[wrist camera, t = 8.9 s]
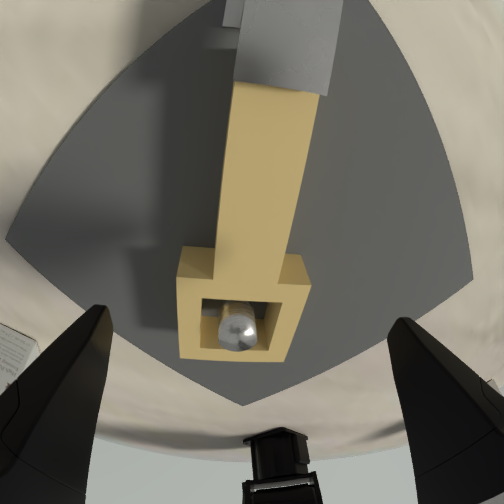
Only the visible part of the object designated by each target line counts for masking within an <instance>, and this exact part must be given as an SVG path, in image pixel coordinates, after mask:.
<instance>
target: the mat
mask: <svg viewBox="0 0 504 504" xmlns="http://www.w3.org/2000/svg"><path fill="white" fill-rule="evenodd" d="M226 1H227V0H212V1H210V2H209V3H207V4H206V5H204V6H203V7H201V8H200V9H199V10H197V11H196V12H194V13H193V14H192V15H190V16H189V17H187V18H186V19H185V20H183V21H182V22H181V23H179V24H178V25H177V26H176V27H174V28H173V29H172V30H171V31H169V32H168V33H167V34H166V35H164V36H163V37H162V38H161V39H160V40H158V41H157V42H156V43H155V44H154V45H153V46H151V47H150V48H149V49H148V50H147V51H146V52H145V53H143V54H142V55H141V56H140V57H139V58H138V59H137V60H136V61H135V62H134V63H133V64H132V65H131V66H130V67H129V68H127V69H126V70H125V71H124V72H123V73H122V74H121V75H120V76H119V77H118V78H117V79H116V81H115V82H114V83H113V84H112V85H111V86H110V87H109V88H108V89H107V90H106V91H105V92H104V93H103V94H102V95H101V97H100V98H99V99H98V100H97V101H96V102H95V103H94V104H93V106H92V107H91V108H90V109H89V110H88V111H87V113H86V114H85V115H84V116H83V117H82V119H81V120H80V121H79V122H78V124H77V125H76V126H75V127H74V129H73V130H72V131H71V133H70V134H69V135H68V136H67V138H66V139H65V140H64V142H63V143H62V145H61V146H60V147H59V149H58V150H57V152H56V153H55V154H54V156H53V157H52V159H51V160H50V162H49V163H48V165H47V166H46V168H45V169H44V171H43V172H42V174H41V175H40V177H39V178H38V180H37V182H36V183H35V185H34V186H33V188H32V190H31V191H30V193H29V195H28V197H27V198H26V200H25V202H24V204H23V205H22V207H21V209H20V211H19V213H18V215H17V216H16V218H15V220H14V222H13V224H12V226H11V228H10V230H9V232H8V234H7V236H6V238H5V240H6V241H7V242H8V243H9V244H10V245H11V246H12V247H13V248H14V249H15V250H16V251H17V252H18V253H19V254H20V255H21V256H22V257H23V258H24V259H25V260H26V261H27V262H29V263H30V264H31V265H32V266H33V267H34V268H35V269H36V270H37V271H38V272H39V273H41V274H42V275H43V276H44V277H45V278H46V279H47V280H49V281H50V282H51V283H52V284H53V285H54V286H56V287H57V288H58V289H59V290H60V291H62V292H63V293H64V294H65V295H66V296H68V297H69V298H70V299H71V300H73V301H74V302H75V303H76V304H78V305H79V306H80V307H81V308H83V309H84V310H85V311H87V310H88V309H89V308H90V307H91V306H93V305H94V304H99V305H106V306H107V307H108V308H109V311H110V315H111V319H112V323H113V331H114V332H115V333H117V334H118V335H120V336H121V337H123V338H124V339H126V340H127V341H129V342H130V343H132V344H133V345H135V346H136V347H138V348H139V349H141V350H142V351H144V352H145V353H147V354H149V355H150V356H152V357H153V358H155V359H157V360H158V361H160V362H161V363H163V364H165V365H166V366H168V367H170V368H171V369H173V370H175V371H177V372H178V373H180V374H182V375H184V376H185V377H187V378H189V379H191V380H192V381H194V382H196V383H198V384H200V385H202V386H204V387H205V388H207V389H209V390H211V391H213V392H215V393H217V394H219V395H221V396H223V397H225V398H227V399H229V400H231V401H233V402H235V403H237V404H239V405H241V406H245V405H248V404H250V403H253V402H255V401H258V400H261V399H263V398H266V397H268V396H271V395H273V394H276V393H278V392H280V391H283V390H285V389H287V388H290V387H292V386H294V385H297V384H299V383H301V382H303V381H305V380H308V379H310V378H312V377H314V376H316V375H318V374H320V373H322V372H325V371H327V370H329V369H331V368H333V367H335V366H337V365H339V364H341V363H343V362H345V361H346V360H348V359H350V358H352V357H354V356H356V355H358V354H360V353H361V352H363V351H365V350H367V349H369V348H370V347H372V346H374V345H376V344H378V343H379V342H381V341H383V340H384V339H386V338H387V335H388V332H389V331H390V329H391V328H392V326H393V324H394V323H395V321H396V320H397V318H399V317H410V318H411V319H412V320H414V321H415V320H417V319H418V318H420V317H422V316H423V315H425V314H426V313H428V312H429V311H431V310H432V309H433V308H435V307H436V306H438V305H439V304H441V303H442V302H444V301H445V300H446V299H448V298H449V297H451V296H452V295H453V294H455V293H456V292H457V291H459V290H460V289H461V288H463V287H464V286H465V285H467V284H468V283H469V282H471V281H472V280H473V271H472V264H471V256H470V250H469V244H468V238H467V233H466V227H465V223H464V218H463V213H462V209H461V205H460V200H459V196H458V192H457V189H456V185H455V181H454V178H453V174H452V171H451V168H450V164H449V161H448V158H447V155H446V152H445V149H444V146H443V143H442V140H441V138H440V135H439V132H438V130H437V127H436V124H435V122H434V119H433V117H432V114H431V112H430V110H429V107H428V105H427V103H426V100H425V98H424V96H423V94H422V92H421V89H420V87H419V85H418V83H417V81H416V79H415V77H414V75H413V73H412V71H411V69H410V67H409V65H408V63H407V61H406V60H405V58H404V56H403V54H402V52H401V51H400V49H399V47H398V45H397V44H396V42H395V40H394V39H393V37H392V35H391V34H390V32H389V30H388V29H387V27H386V26H385V24H384V22H383V21H382V19H381V18H380V16H379V15H378V13H377V12H376V10H375V9H374V8H373V6H372V5H371V3H370V2H369V0H343V6H342V13H341V19H340V25H339V32H338V38H337V44H336V50H335V55H334V61H333V67H332V72H331V78H330V83H329V88H328V94H327V96H324V95H319V101H318V106H317V111H316V116H315V121H314V126H313V131H312V135H311V140H310V145H309V150H308V155H307V159H306V164H305V168H304V173H303V178H302V182H301V187H300V191H299V196H298V200H297V204H296V209H295V213H294V217H293V222H292V226H291V230H290V235H289V239H288V243H287V247H286V251H285V254H297V255H301V257H302V260H303V262H304V265H305V268H306V271H307V274H308V277H309V280H310V282H311V285H312V286H311V288H310V291H309V294H308V297H307V300H306V303H305V306H304V309H303V311H302V314H301V317H300V320H299V323H298V325H297V328H296V331H295V333H294V336H293V339H292V342H291V344H290V347H289V349H288V352H287V355H286V357H285V360H284V362H236V361H213V360H197V359H184V358H180V351H179V335H178V315H177V287H176V276H177V271H178V266H179V261H180V256H181V252H182V247H183V246H192V247H205V248H215V239H216V228H217V217H218V207H219V197H220V187H221V178H222V169H223V160H224V151H225V143H226V135H227V127H228V119H229V111H230V103H231V96H232V89H233V82H234V81H233V74H234V67H235V60H236V53H237V47H238V40H239V34H240V29H237V28H226V27H222V25H223V19H224V13H225V7H226ZM267 304H268V302H258V301H253V305H254V314H255V319H264V317H265V313H266V308H267ZM202 316H211V317H219V299H207V298H203V299H202Z"/></svg>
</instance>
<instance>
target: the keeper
mask: <svg viewBox="0 0 504 504" xmlns="http://www.w3.org/2000/svg"><path fill="white" fill-rule="evenodd" d="M342 6H343V0H227V1H226V7H225V13H224V19H223V25H222V27H226V28H237V29H240V34H239V40H238V47H237V53H236V60H235V67H234V74H233V81H239V82H248V83H256V84H263V85H270V86H276V87H283V88H288V89H294V90H299V91H305V92H310V93H314V94H319V95H324V96H327V94H328V88H329V83H330V78H331V72H332V67H333V61H334V55H335V50H336V44H337V38H338V32H339V25H340V19H341V13H342Z"/></svg>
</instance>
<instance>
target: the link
mask: <svg viewBox="0 0 504 504" xmlns="http://www.w3.org/2000/svg"><path fill="white" fill-rule="evenodd" d="M318 101H319V94H314V93H310V92H305V91H299V90H294V89H288V88H283V87H276V86H270V85H263V84H256V83H248V82H239V81H234V82H233V89H232V96H231V103H230V111H229V119H228V127H227V135H226V143H225V151H224V160H223V169H222V178H221V187H220V197H219V207H218V217H217V228H216V239H215V248H205V247H192V246H183V247H182V252H181V256H180V261H179V266H178V271H177V276H176V287H177V315H178V335H179V351H180V358H184V359H197V360H213V361H236V362H284V360H285V357H286V355H287V352H288V349H289V347H290V344H291V342H292V339H293V336H294V333H295V331H296V328H297V325H298V323H299V320H300V317H301V314H302V311H303V309H304V306H305V303H306V300H307V297H308V294H309V291H310V288H311V286H312V285H311V282H310V280H309V277H308V274H307V271H306V268H305V265H304V262H303V260H302V257H301V255H297V254H285V251H286V247H287V243H288V239H289V235H290V230H291V226H292V222H293V217H294V213H295V209H296V204H297V200H298V196H299V191H300V187H301V182H302V178H303V173H304V168H305V164H306V159H307V155H308V150H309V145H310V140H311V135H312V131H313V126H314V121H315V116H316V111H317V106H318ZM203 298H207V299H222V300H239V301H258V302H268V304H267V308H266V313H265V317H264V319H255V323H256V332H257V342H256V344H255V345H254V346H253V347H252V348H250V349H248V350H245V351H240V352H234V351H229V350H226V349H224V348H223V347H221V345H220V344H219V341H218V328H219V317H211V316H202V299H203Z"/></svg>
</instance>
